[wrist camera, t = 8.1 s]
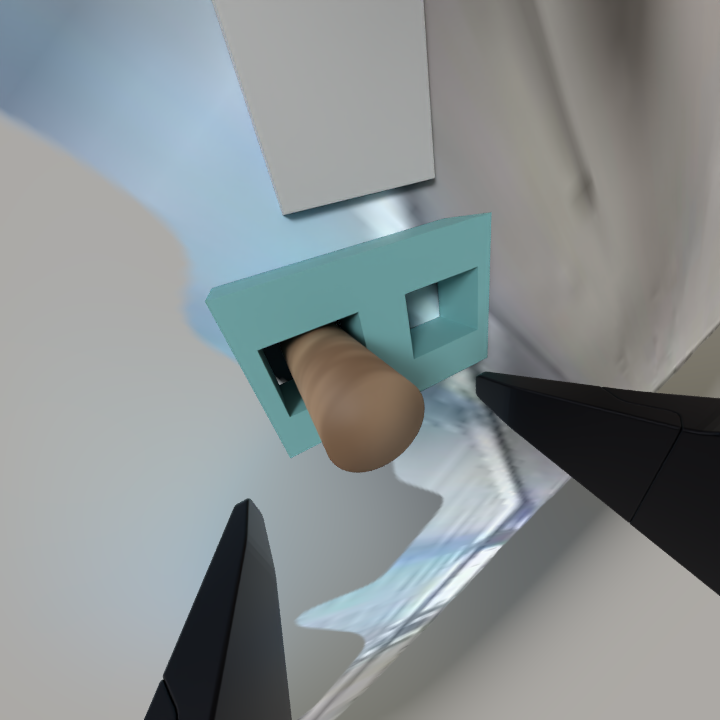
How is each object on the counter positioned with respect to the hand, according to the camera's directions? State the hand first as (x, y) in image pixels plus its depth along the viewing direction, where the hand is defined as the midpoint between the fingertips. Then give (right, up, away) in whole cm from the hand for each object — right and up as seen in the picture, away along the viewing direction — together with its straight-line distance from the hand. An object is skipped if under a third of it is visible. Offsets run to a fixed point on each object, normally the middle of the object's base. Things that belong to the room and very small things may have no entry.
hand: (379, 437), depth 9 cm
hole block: (-1, +6, +10) cm, 11 cm away
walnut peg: (-4, +4, +8) cm, 10 cm away
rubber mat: (-2, +17, +4) cm, 17 cm away
